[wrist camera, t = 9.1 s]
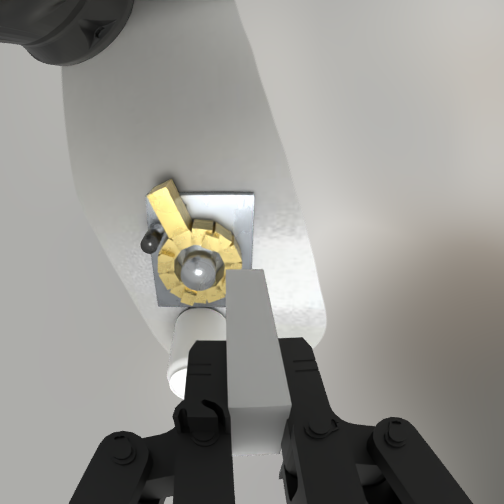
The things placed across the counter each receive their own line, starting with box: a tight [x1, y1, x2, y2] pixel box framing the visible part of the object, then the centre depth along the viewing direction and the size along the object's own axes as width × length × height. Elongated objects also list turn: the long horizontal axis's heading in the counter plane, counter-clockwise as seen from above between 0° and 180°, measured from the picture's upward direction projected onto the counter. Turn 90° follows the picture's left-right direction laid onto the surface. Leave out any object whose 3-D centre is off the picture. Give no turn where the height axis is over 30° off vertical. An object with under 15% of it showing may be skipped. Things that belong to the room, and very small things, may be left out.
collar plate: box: [141, 192, 254, 307], centre depth 38 cm, size 16×13×6 cm
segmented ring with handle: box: [147, 179, 242, 306], centre depth 37 cm, size 16×10×4 cm, turn 22°
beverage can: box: [167, 307, 226, 399], centre depth 41 cm, size 8×8×12 cm
